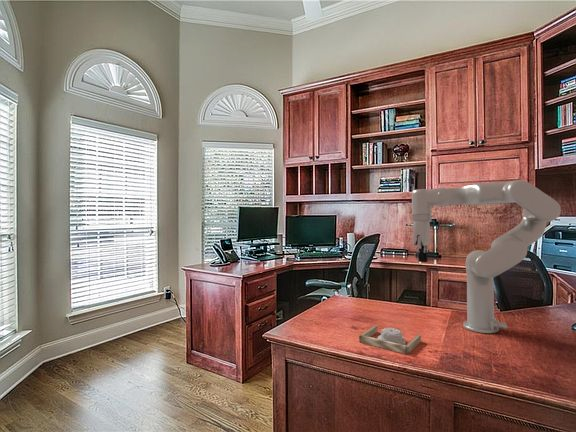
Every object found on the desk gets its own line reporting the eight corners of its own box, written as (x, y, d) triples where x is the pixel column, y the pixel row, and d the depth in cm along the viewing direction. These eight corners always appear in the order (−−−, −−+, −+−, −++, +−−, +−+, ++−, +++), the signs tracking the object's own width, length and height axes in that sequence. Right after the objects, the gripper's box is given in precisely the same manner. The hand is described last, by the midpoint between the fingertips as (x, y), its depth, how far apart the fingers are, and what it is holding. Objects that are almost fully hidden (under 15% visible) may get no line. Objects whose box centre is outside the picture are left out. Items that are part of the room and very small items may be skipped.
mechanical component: (378, 347, 122) (407, 348, 120) (378, 334, 122) (407, 336, 120) (376, 336, 131) (403, 338, 129) (376, 325, 131) (403, 326, 129)
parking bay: (421, 341, 126) (420, 334, 125) (407, 354, 115) (407, 347, 115) (375, 331, 137) (375, 325, 137) (359, 342, 126) (359, 335, 126)
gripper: (418, 218, 151) (419, 259, 152) (407, 219, 140) (408, 263, 140) (435, 217, 147) (437, 259, 147) (426, 219, 135) (427, 265, 135)
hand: (423, 261), depth 143 cm, fingers closed
